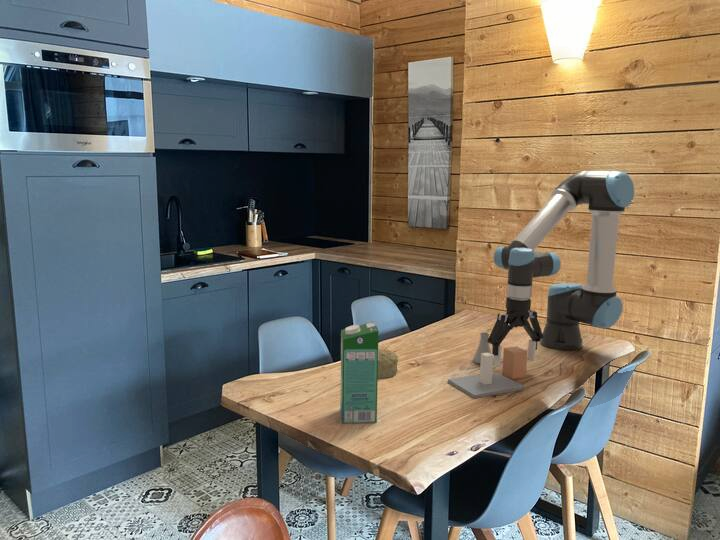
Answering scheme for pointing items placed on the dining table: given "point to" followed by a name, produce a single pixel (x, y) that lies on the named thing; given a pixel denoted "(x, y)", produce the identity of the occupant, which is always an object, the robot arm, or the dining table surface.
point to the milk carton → (359, 373)
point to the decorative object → (387, 363)
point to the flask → (482, 347)
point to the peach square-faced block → (514, 362)
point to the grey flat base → (485, 381)
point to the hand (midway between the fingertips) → (514, 362)
